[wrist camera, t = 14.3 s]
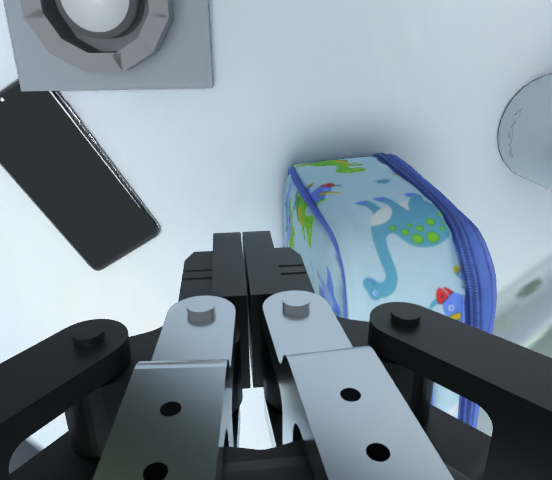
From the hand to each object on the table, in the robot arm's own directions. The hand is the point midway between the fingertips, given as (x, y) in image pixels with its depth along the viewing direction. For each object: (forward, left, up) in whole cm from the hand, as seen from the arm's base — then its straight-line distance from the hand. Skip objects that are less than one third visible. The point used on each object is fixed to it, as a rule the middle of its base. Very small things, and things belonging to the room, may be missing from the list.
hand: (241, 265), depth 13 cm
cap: (+8, -8, -28) cm, 30 cm away
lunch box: (-10, +16, -29) cm, 35 cm away
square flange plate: (+8, -8, -29) cm, 31 cm away
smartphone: (+13, +5, -30) cm, 33 cm away
